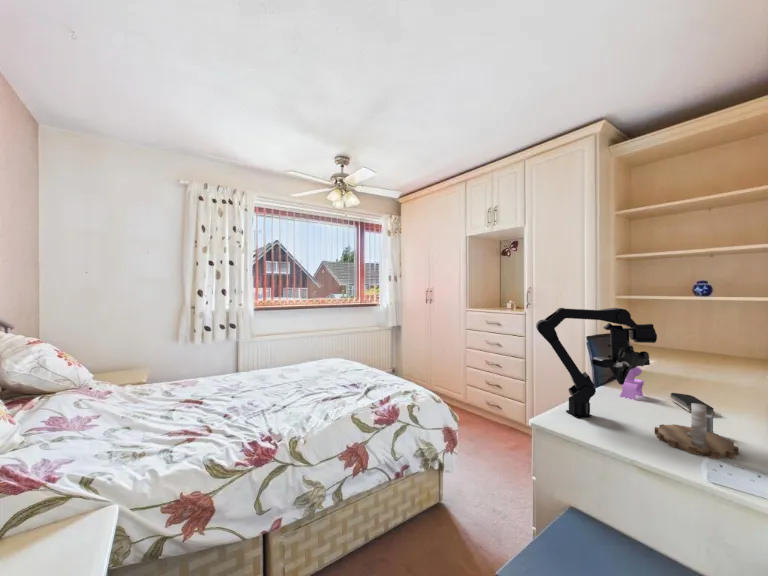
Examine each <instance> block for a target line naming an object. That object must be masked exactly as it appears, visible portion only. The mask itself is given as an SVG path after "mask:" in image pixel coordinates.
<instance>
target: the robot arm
mask: <svg viewBox="0 0 768 576" xmlns="http://www.w3.org/2000/svg"><path fill="white" fill-rule="evenodd" d="M565 319H573V320H574V319H575V320H577V319H579V320H593V321H594V320H595V321H603V322H607V324H606V325H605V326H603V330H606V331H609V335H610V336H609V339H610V340H609V341H610V343H607V347H608V348H610V354H607V357H605V356H594V357H593V358H592V359H591V364H592V365H593V366H596V367H600V368H605V369H607V368H608V369H609V370H610V371H611V373H612V374H613V376H614V378H615V379H616V381H617V384H618V385H623V384H624V382H625V379H626V377H627V374H628V372H629V371H630V370H631V369H633V368H635V367H644V366H650V365H651V364H650V355H649V352H647V351H645V350H643V351H640V352H639V351H635V350H634V346H633V345H632V344H631V345H630V340H631V341H632V340H633V343H635V344H636V343H637V344H638V343H639V344H644V343H645V344H655V343H657V339H658V334H657V332H656V330H655V327H654V324H652V323H643V324H642V323H639V324H638V323H636V321H634V320H633V319H632V315H631V313H630V311H628V310H627V309H625V308H620V307H610V308H604V309H603V308H602V309H586V308H585V309H583V308H581V309H580V308H564V307H558V308H557V309H556V310H555V311H554V312H553V313H551V314H550V315H548V316H547V317H546V318H544V319H540V320H538V321H537V322H536V325H535V327H536V330H537V332H538V333H539V334H540V335H541V336H542V337H543V338H544V339H545V340H546V341H547V343H548V344H550V346H551V348H552V349H553V351H554V352H555V354H556V355H557V357H558V358H559V360H560V361H561V363H562V364H563V366H564V368H565V369H566V370H567V372H568V374H569V375H570V378H571V381H572V383H573V385H571V387H569V388H568V389H567V390H568V393H569V395H570V397H568V409H567V410H565V412H566V413H567V414H569V415H571V416H573V417H575V418H576V419H582V418H583V419H584V418H593V415H592V414H591V403H590V400H591V398H592V397H594V396H595V394H596V393H597V392H596V391H597V390H596V387H595V386H596V384H595V383H594V381H592V378H591V376H590V375H589V374H588V373H587V372H586V371H584V372H581V370H580V369H579V368H578V366H577V365H576V363H575V361H574V360H573V359H572V357H571V356H570V354H569V353H568V351H567V349H566V348H565V347H564V345H563V344H562V342H561V341H560V339H559V337H558V333H557V331H556V329H555V328H557V327H558V326H559V325H560V324H561V323H562V322H563V321H564V320H565ZM613 324H614V325H613ZM623 326H626V327H623Z"/></svg>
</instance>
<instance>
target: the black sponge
mask: <svg viewBox="0 0 768 576" xmlns="http://www.w3.org/2000/svg"><path fill="white" fill-rule="evenodd" d="M670 400H671V401H673V402H674V403H675V404H676V405H678V406H680V407H681V408H683V409H684V410H686V411H687V412H689V413H691V404H692V403H697V404H702V405H705V406H706V414H707V415H711V416H713V417H714V415H715V413H714V408H713V407H712V406H711V405H709V404H707V403H706V402H704V401H702V400H700V399H699V398H697V397H695V396H693V395H690V394H685V393H684V394H683V393H680V392H679V393H678V392H670Z"/></svg>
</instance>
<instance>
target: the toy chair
mask: <svg viewBox="0 0 768 576" xmlns="http://www.w3.org/2000/svg"><path fill="white" fill-rule="evenodd" d="M642 371H643V370H642V368H641V367H640V366H637V367H635V368H633V369H631V370H630V371H629V372H628V374H627V377H626V379H625V382H624V384H623V385H621V393H620V395H619V397H620V398H623V397H625V398H624V399H627V398H629V400H632V399H633V400H632V401H636V400H638V399H637V397H641V396H642V397H641V398H644V394H643V390H642V389H643V386H644V384H645V382H644V380H642V379H638V378H637V379H636V377H639V375H641V374H642V373H643V372H642ZM637 395H638V396H637Z"/></svg>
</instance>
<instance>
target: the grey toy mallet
mask: <svg viewBox="0 0 768 576" xmlns="http://www.w3.org/2000/svg"><path fill="white" fill-rule="evenodd" d="M706 431H708V432H712V433H714V415H713V416H711V415H707V414H706Z"/></svg>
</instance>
